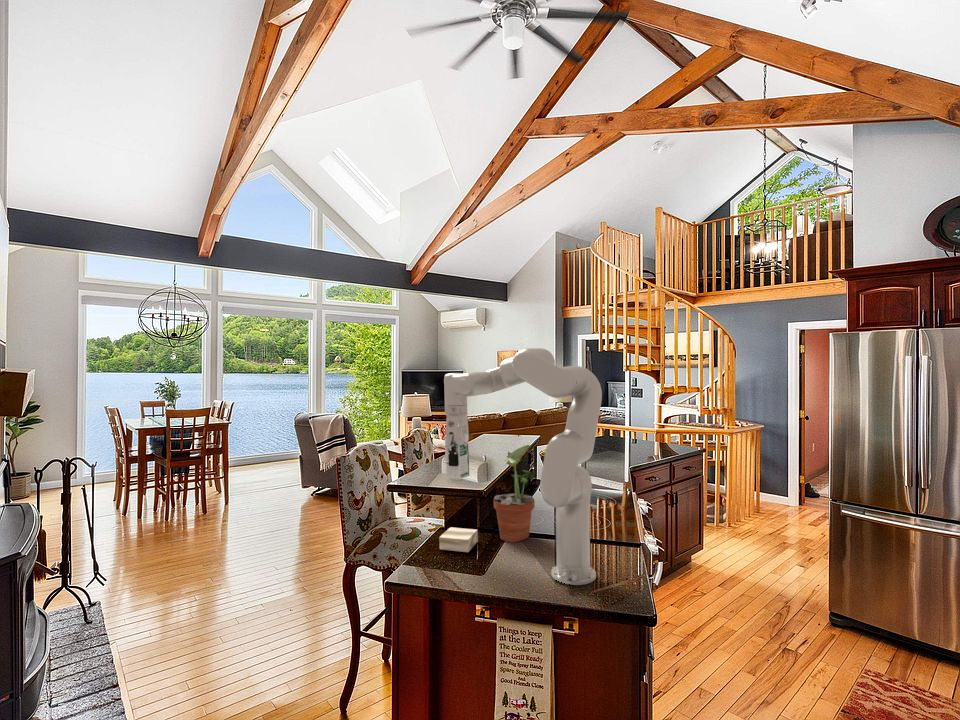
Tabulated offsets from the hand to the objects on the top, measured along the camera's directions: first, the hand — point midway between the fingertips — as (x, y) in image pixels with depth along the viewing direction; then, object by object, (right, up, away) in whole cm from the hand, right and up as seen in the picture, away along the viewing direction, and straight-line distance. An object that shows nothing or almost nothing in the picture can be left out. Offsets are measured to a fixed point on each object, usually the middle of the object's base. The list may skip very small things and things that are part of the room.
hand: (457, 463), depth 174 cm
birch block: (+1, -28, +1) cm, 28 cm away
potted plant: (+20, -27, +8) cm, 35 cm away
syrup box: (0, -5, 0) cm, 5 cm away
